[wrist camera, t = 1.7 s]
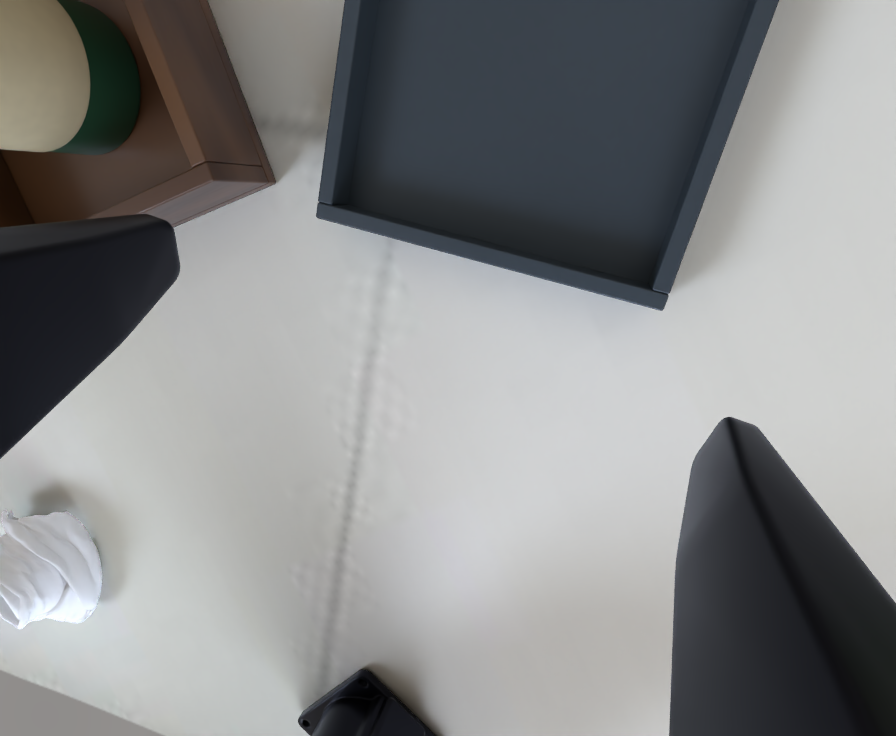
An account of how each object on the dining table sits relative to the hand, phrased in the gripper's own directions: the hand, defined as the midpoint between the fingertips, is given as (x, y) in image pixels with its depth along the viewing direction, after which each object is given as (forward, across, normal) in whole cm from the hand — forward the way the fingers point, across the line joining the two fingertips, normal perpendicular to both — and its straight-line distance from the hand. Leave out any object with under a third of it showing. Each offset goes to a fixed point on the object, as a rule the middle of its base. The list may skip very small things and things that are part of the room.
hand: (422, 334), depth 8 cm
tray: (+16, +2, -2) cm, 16 cm away
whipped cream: (+5, +21, +29) cm, 37 cm away
